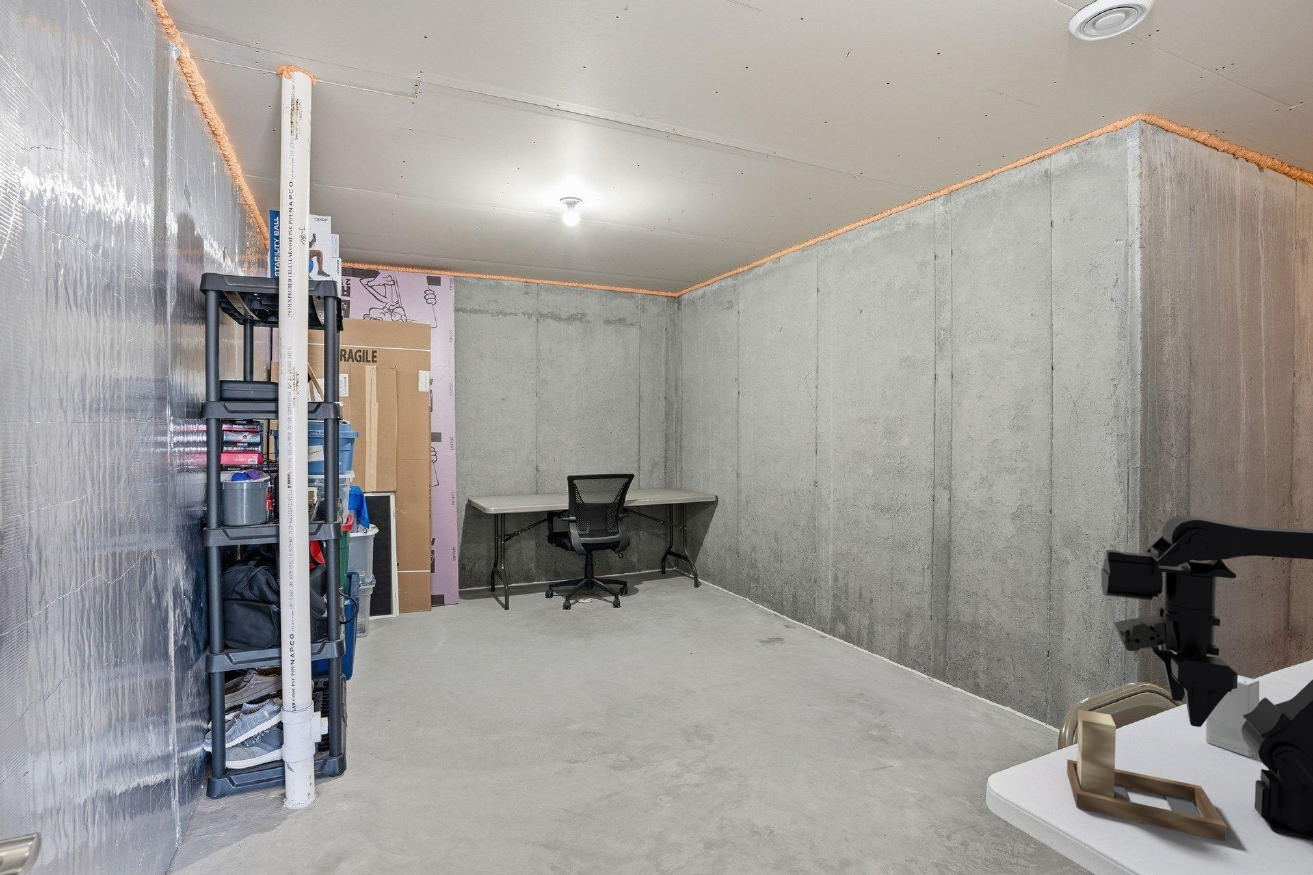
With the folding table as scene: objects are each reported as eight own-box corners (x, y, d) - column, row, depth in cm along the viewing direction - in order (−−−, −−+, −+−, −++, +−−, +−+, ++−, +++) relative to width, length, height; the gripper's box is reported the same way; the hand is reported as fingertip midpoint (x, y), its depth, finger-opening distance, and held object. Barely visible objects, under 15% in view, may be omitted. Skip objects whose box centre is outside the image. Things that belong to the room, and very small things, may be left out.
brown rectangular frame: (1200, 799, 95) (1201, 785, 95) (1225, 840, 86) (1226, 825, 85) (1067, 771, 102) (1067, 759, 102) (1076, 807, 93) (1076, 793, 93)
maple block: (1108, 788, 97) (1110, 714, 97) (1113, 802, 94) (1115, 726, 93) (1076, 781, 99) (1078, 709, 99) (1080, 794, 95) (1082, 720, 95)
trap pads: (1191, 801, 94) (1191, 799, 94) (1208, 832, 87) (1208, 830, 87) (1110, 784, 99) (1110, 782, 99) (1120, 812, 92) (1120, 810, 92)
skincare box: (1260, 752, 109) (1262, 680, 109) (1248, 758, 107) (1251, 685, 107) (1214, 736, 114) (1216, 667, 114) (1202, 742, 112) (1205, 672, 112)
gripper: (1109, 583, 105) (1106, 679, 106) (1134, 613, 89) (1131, 727, 89) (1196, 592, 101) (1193, 692, 101) (1241, 625, 84) (1236, 746, 84)
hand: (1185, 712), depth 94 cm, fingers open, 9 cm apart
